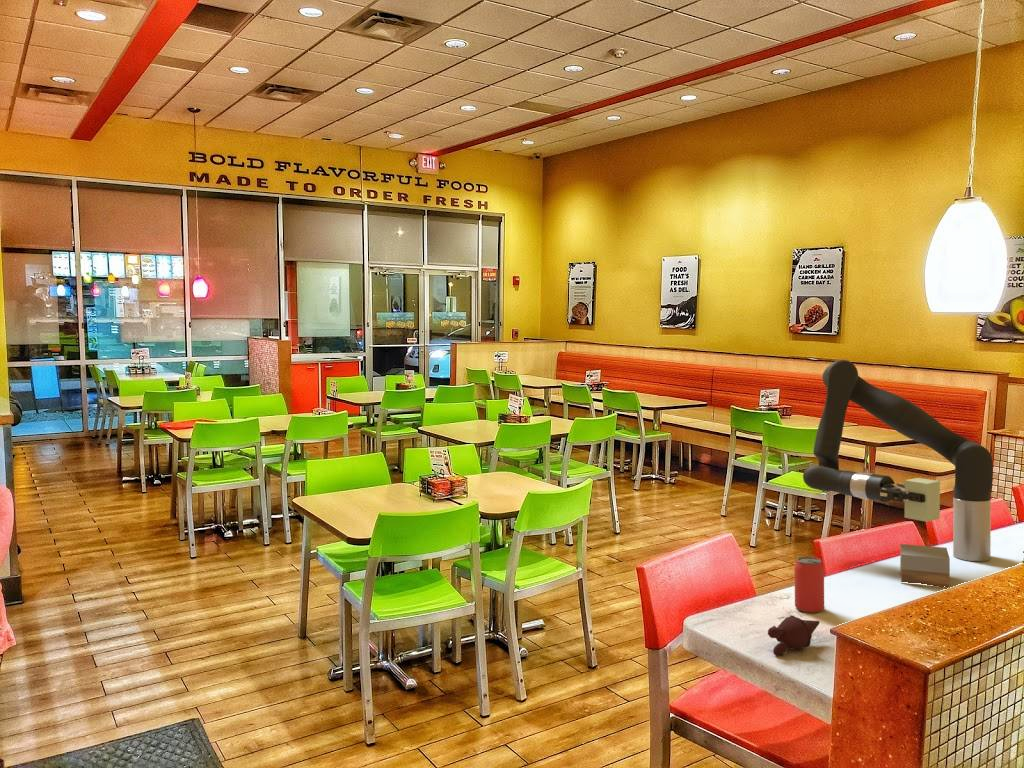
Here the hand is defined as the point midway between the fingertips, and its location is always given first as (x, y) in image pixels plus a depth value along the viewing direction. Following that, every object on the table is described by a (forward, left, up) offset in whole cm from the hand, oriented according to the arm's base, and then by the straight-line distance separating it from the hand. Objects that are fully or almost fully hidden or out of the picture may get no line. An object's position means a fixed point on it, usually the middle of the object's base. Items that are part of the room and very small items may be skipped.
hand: (931, 496), depth 198 cm
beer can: (+33, -28, -23) cm, 49 cm away
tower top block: (-1, -2, -19) cm, 19 cm away
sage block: (-1, -2, -6) cm, 7 cm away
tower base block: (-1, -2, -23) cm, 23 cm away
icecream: (+58, -29, -23) cm, 69 cm away
